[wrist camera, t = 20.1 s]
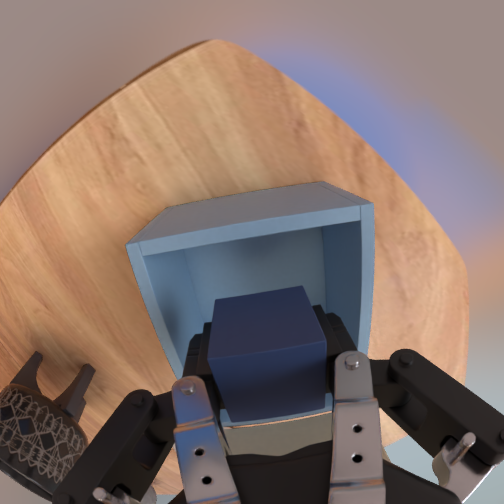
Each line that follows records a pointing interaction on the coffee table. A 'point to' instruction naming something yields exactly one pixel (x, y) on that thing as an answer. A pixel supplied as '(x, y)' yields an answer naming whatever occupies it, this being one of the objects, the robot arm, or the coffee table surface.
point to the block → (268, 355)
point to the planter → (41, 429)
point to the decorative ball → (149, 496)
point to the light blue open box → (256, 261)
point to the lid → (282, 436)
